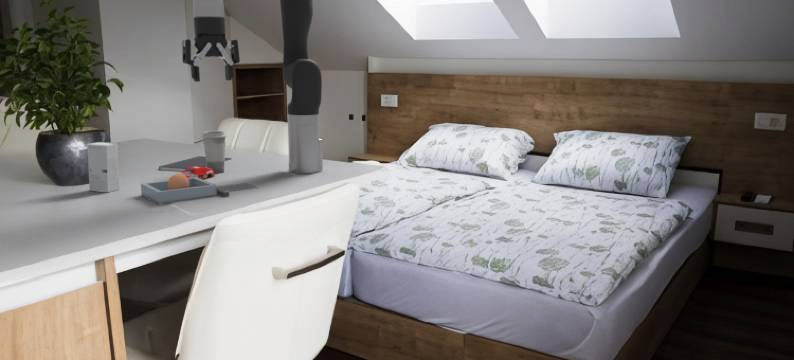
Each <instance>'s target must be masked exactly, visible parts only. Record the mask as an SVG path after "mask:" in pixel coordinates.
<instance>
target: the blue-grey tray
mask: <svg viewBox="0 0 794 360" xmlns="http://www.w3.org/2000/svg"><path fill="white" fill-rule="evenodd" d="M168 180H169V179H167V180H161V181H160V180H159V181H149V182H143V183H140V191H141V196H142V197H144V198H146V199H148V200H149V199H150V200H149V201H151V202H153V203H154V204H156V205H158V204H159V206H162V205H161V204H163V205H167V204H168V205H169V204H170V205H171V204H172V203H173V202H180V201H181V202H182V201H188V200H195V199H203V198H210V197H217V195H218V194H217V189H216V187H217V185H216V184H215V183H213V182H209V181H207V180H206V179H204V180H202V179H200V178H197V177H193V178H188V180H189V188H182V189H174V190H170V189H169V187H168Z"/></svg>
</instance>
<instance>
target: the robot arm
mask: <svg viewBox="0 0 794 360" xmlns="http://www.w3.org/2000/svg"><path fill="white" fill-rule="evenodd" d="M279 3H280V13H281V14H280V15H281V27H282V38H283V59H282V60H283V61H282V75H283V76H282V78H283V81H284V83H285V84H286V85H287V87H289V88H290V89H291V99H290V102H289V103H288V104H287V107H286V108H287V138H288V139H287V140H288V142H287V145H288V172H290V173H295V174H312V173H318V172H320V171H323V166H324V165H323V139H322V138H320V111H319V110H320V107H321V104H322V91H323V90H322V84H323V83H322V81H323V79H322V78H323V76H322V70H321V68H320V66H319V64H318V63H317V62H316V61H314V60H312V59H309V55H308V54H309V52H308V38H309V32H310V29H311V24H312V20H313V14H314V3H313V0H279ZM192 11H193V12H192V13H193V27H194V39H187V38H185V39H183V40H182V42H181V43H182V44H181V45H182V63H183V64H186V65H188V66H189V67H190V72H191V73H190V74H191V79H192V80H193V81H194V82H196V83H197V82H199V83H200V80H201V78H200V76H201V75H200V66H198V65H199V64H200V63H201V61H202V60H203V59H204V58H205V57H206V58H211V57H212V58H213V57H214V58H216V57H217V58H219V59H221V61H222V62H223V63H224V64H225V65H224V74H225V75H224V76H225V80H226V81H232V79H233V78H234V65H235V64H239V63H240V62H241V61H240V60H241V58H240V49H239V41H238V39H230V40H228V39H226V20H225V19H226V18H225V15H226V14H225V13H226V12H225V5H224V0H193V3H192ZM227 46H228V48H229V49H230V55H229V54H228V52H227V51H226V50H225V49H226V48H227ZM194 47H195V48H196V51H195V53H194V55H193V56H192V48H194Z"/></svg>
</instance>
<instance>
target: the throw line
mask: <svg viewBox="0 0 794 360" xmlns="http://www.w3.org/2000/svg"><path fill="white" fill-rule="evenodd" d="M216 189H217V195H219V196H221V197H223V198H228V197H230V192H229V191H227V190H224V189H222V188H219V187H217V186H216Z"/></svg>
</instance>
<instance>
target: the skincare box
mask: <svg viewBox="0 0 794 360" xmlns="http://www.w3.org/2000/svg"><path fill="white" fill-rule="evenodd" d="M86 147H87V164H88V166H87V167H88V182H89V183H88V185H89V191H90V192H100V193H111V192H116V191H119V190H120V179H119V178H120V177H119V173H120V171H119V153H118V152H119V151H118V150H119V149H118V148H119V147H118V143H114V142H100V141H99V142H98V141H97V142H92V143H87V146H86Z"/></svg>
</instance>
